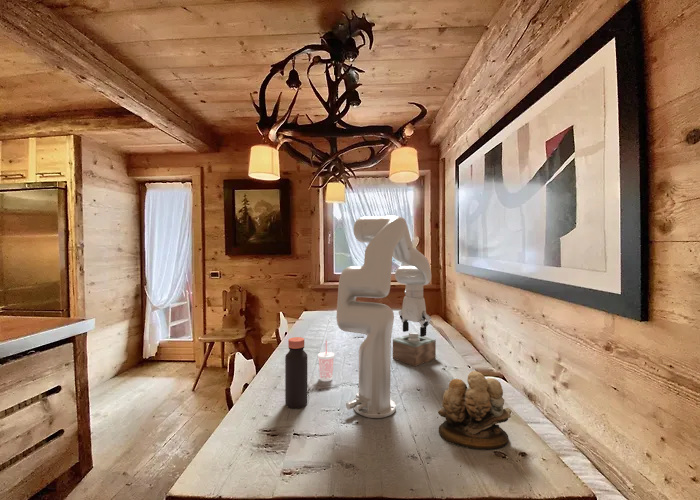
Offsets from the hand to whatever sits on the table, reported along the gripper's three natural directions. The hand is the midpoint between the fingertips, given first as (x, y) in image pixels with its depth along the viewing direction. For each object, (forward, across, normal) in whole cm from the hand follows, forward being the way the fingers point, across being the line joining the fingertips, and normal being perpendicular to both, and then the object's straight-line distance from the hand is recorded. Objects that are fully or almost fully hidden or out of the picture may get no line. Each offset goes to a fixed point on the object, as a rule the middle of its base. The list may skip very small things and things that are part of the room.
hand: (414, 333), depth 142 cm
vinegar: (+11, +4, -60) cm, 61 cm away
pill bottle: (+10, 0, 0) cm, 10 cm away
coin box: (+11, 0, 0) cm, 11 cm away
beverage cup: (+11, -6, -42) cm, 44 cm away
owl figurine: (+11, +48, -33) cm, 59 cm away
